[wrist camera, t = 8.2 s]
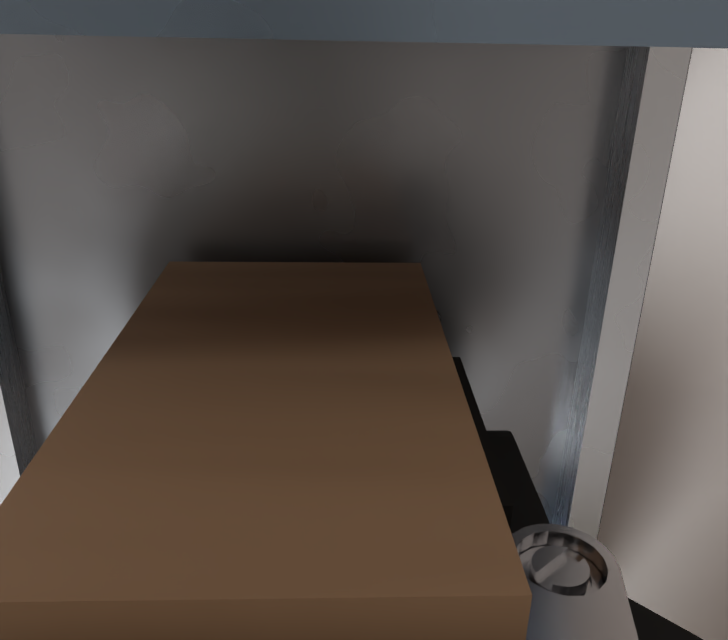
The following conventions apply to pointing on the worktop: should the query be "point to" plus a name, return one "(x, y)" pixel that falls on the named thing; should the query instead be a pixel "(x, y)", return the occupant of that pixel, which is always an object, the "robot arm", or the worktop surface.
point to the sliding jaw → (385, 20)
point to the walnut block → (266, 473)
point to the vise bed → (344, 209)
